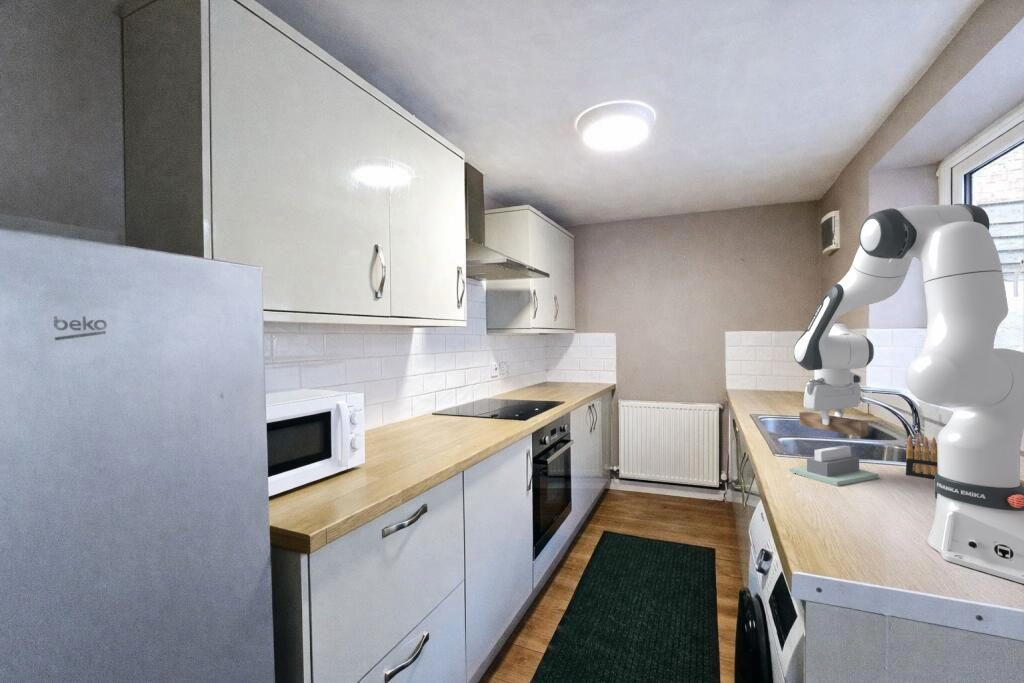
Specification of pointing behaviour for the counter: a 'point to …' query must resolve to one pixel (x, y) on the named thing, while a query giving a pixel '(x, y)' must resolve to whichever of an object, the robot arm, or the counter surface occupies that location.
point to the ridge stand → (834, 467)
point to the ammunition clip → (921, 458)
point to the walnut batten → (835, 424)
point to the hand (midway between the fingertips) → (832, 423)
